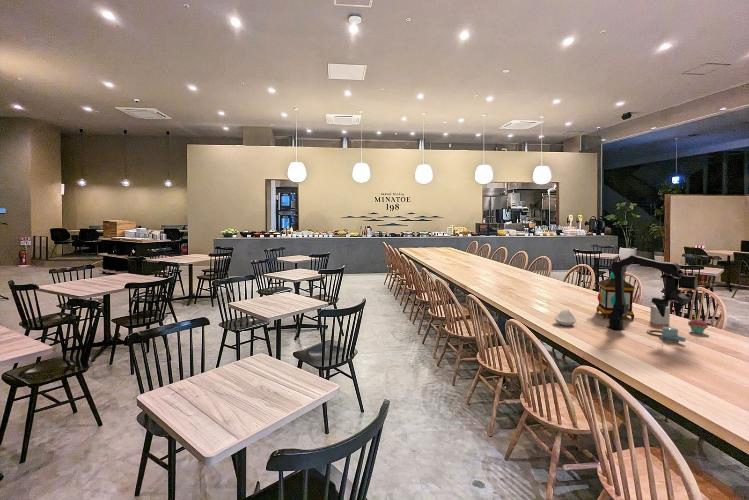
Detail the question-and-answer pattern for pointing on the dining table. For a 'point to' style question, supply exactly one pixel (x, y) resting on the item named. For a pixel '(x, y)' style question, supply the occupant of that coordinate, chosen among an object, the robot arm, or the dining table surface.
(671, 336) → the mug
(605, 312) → the decorative lantern
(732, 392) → the dining table surface
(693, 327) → the cupcake
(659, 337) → the coaster
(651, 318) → the small box
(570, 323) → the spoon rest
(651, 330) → the holder ring
